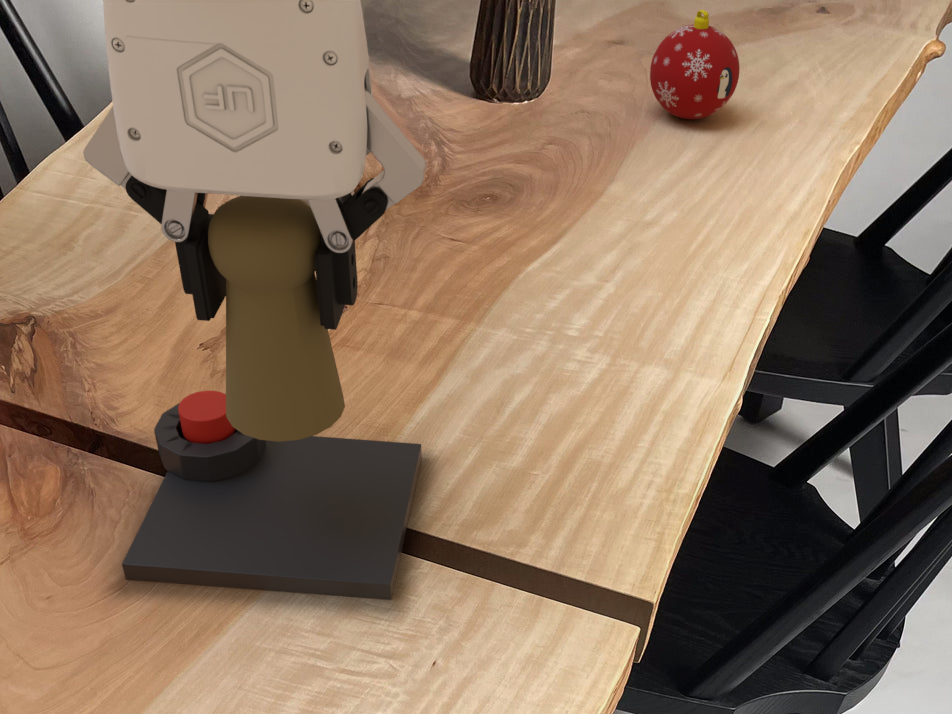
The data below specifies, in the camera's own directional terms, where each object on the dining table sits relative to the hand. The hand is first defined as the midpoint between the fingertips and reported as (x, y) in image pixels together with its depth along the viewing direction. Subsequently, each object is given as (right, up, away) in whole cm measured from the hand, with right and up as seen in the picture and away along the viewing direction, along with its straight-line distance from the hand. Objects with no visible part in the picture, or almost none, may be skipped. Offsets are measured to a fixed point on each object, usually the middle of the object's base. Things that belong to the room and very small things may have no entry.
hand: (273, 307), depth 53 cm
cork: (0, -4, +4) cm, 6 cm away
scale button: (-6, -5, +11) cm, 13 cm away
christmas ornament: (+29, +30, +57) cm, 71 cm away
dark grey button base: (-1, -10, +9) cm, 14 cm away
